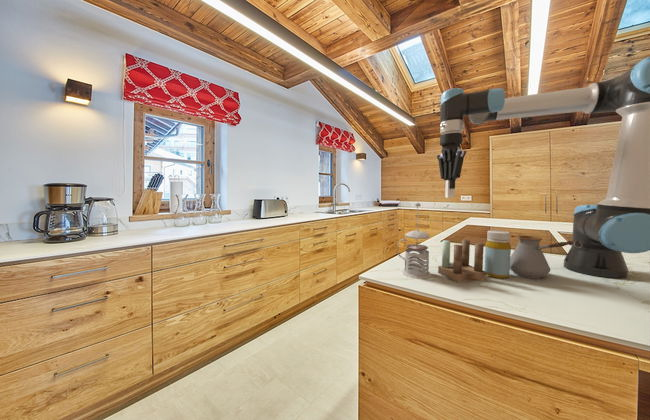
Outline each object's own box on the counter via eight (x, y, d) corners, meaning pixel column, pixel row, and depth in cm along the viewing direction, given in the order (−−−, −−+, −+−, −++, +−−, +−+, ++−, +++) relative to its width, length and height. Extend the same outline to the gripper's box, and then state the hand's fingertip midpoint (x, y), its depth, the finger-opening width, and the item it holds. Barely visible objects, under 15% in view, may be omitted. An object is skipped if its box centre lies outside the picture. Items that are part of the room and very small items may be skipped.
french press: (433, 280, 80) (434, 203, 77) (396, 276, 83) (396, 203, 81) (430, 270, 89) (431, 201, 87) (397, 267, 93) (397, 201, 90)
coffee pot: (498, 269, 89) (500, 228, 88) (528, 268, 89) (531, 227, 88) (556, 294, 68) (559, 241, 66) (595, 293, 68) (600, 240, 67)
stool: (465, 270, 88) (466, 239, 87) (486, 279, 79) (487, 244, 78) (438, 272, 86) (438, 240, 85) (456, 282, 77) (457, 246, 76)
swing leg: (458, 264, 87) (458, 239, 86) (463, 266, 85) (464, 240, 84) (440, 265, 85) (440, 240, 85) (445, 267, 83) (445, 242, 82)
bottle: (500, 271, 86) (503, 229, 85) (514, 279, 79) (516, 233, 78) (480, 271, 87) (481, 229, 86) (491, 278, 80) (493, 233, 79)
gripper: (431, 137, 96) (430, 197, 98) (454, 129, 84) (452, 198, 86) (448, 137, 98) (446, 196, 100) (473, 130, 85) (471, 197, 87)
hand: (449, 197), depth 93 cm, fingers closed
